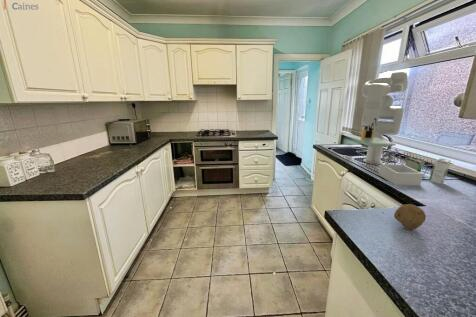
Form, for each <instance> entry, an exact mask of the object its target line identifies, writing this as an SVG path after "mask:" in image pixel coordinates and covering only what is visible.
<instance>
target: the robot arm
mask: <svg viewBox="0 0 476 317" xmlns="http://www.w3.org/2000/svg"><path fill="white" fill-rule="evenodd" d="M408 79H409V78H408V74H407V72H406V71H405V70H396V71H387V72H383V73H382V74H381V75H380V77H377V78H374V79H370V80H368V81H366V82H365V83H364V84H363V86H362V88H361V92H360V93H361V95H362V96H363V97H364V98H366V100H365V105H364V110H363V113H362V116H361V122H360V124H361V125H362V126H363V130H367V131H366V136H365V137H366V138H371V136H372V131H373V130H374V135H373V138H380V139H383V140H385V138H384V136H383V135H386V136H396V135H398V134H399V131H400V129H401V124H402V119H403V116H404V109H403V108H402V106H393V102H394V99H393V97H392V95H391V94H394V93H395V94H398V93H399V94H400V93H405V91H406V90H407V88H408ZM386 120H387V121H386ZM383 151H384V146H367V152H366V155H365V157H366V158H364V159H363V162H364V163H366V164H371V165H381V164H384V163H383V162H384V161H383V160H381V159H382V155H383Z"/></svg>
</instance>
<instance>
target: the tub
mask: <svg viewBox="0 0 476 317" xmlns="http://www.w3.org/2000/svg"><path fill="white" fill-rule="evenodd" d="M378 176H380V177H381V178H383V179H384V180H387V181H388V182H390V183H391V184H393V186H394V185H397V186H421V184H422V180H423V177H424V173H423V172H419V171H416V170H414V169H412V168H410V167H408V166H406V165H405V164H397V163H396V164H391V163H389V164H388V163H385V164H384V163H382V164H379V170H378Z"/></svg>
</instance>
